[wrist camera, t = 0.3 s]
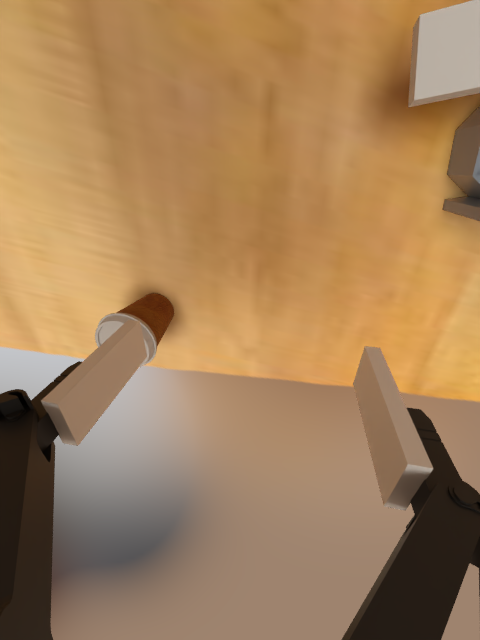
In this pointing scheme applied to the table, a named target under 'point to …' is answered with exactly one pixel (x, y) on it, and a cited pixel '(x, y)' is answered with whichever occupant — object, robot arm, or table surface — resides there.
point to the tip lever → (445, 54)
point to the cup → (466, 168)
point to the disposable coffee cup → (151, 315)
